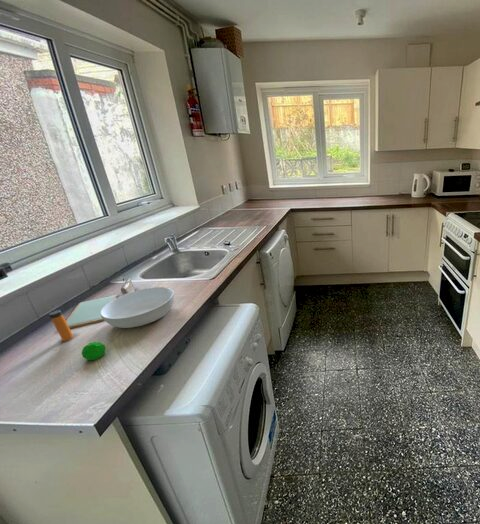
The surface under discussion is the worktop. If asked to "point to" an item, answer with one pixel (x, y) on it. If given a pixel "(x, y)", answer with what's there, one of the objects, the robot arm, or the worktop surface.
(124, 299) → the serving bowl
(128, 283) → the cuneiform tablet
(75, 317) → the pale green board
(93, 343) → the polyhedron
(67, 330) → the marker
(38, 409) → the worktop surface
